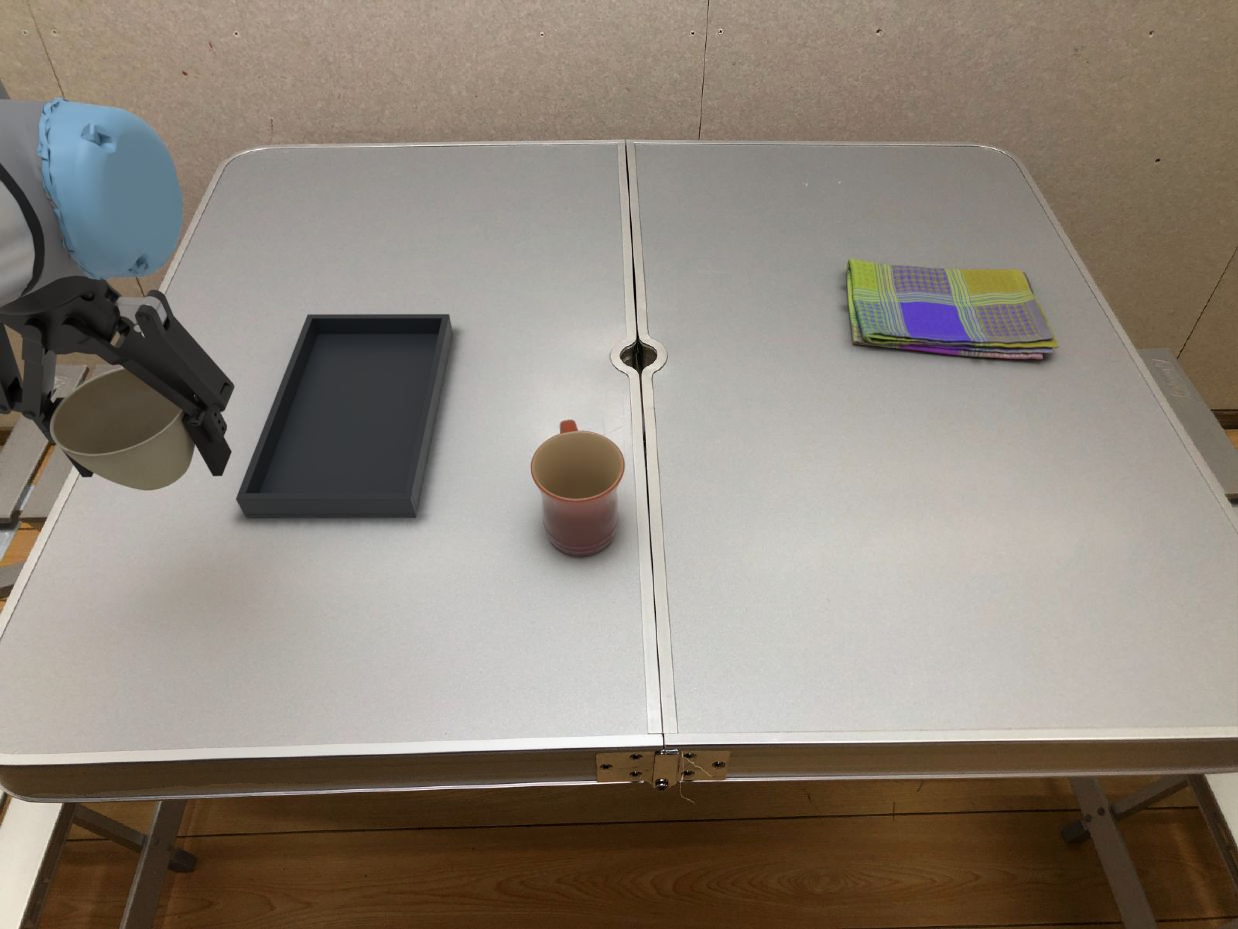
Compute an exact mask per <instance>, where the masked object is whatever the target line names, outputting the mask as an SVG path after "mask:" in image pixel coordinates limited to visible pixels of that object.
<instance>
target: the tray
mask: <svg viewBox="0 0 1238 929" xmlns="http://www.w3.org/2000/svg"><path fill="white" fill-rule="evenodd" d="M453 332H454V331H453V326H452V320H451V316H450V313H395V314H394V313H381V314H380V313H366V314H365V313H360V314H359V313H354V314H353V313H350V314H349V313H345V314H344V313H343V314H342V313H341V314H340V313H338V314H334V313H333V314H332V313H329V314H327V313H325V314H324V313H323V314H322V313H318V314H316V313H313V314H309V313H308V314H307V315H306V317H305V320H304V323H303V325H302V328H301V331H300V332H299V335H298V338H297V340H296V343H295V346H294V348H293V351H292V353H291V356H290V358H289V361H288V364H287V366H286V369H285V370H284V371H285V372H284V374H283V377H282V379H281V381H280V383H279V387H278V389H277V392H276V394H275V397H274V400H273V402H272V404H271V407H270V409H269V413H268V415H267V417H266V420H265V423H264V425H263V428H262V430H261V433H260V436H259V438H258V440H257V443H256V445H255V448H254V451H253V453H252V455H251V458H250V461H249V464H248V466H247V469H246V471H245V473H244V475H243V479H242V482H241V484H240V487H239V490H238V491H237V495H236V497H235V500H236V503H237V505H238V506H239V508H240V510H241V512H242V514H243V516H244V517H245V519H265V518H266V519H282V518H283V519H288V518H289V519H290V518H291V519H296V518H297V519H298V518H299V519H301V518H302V519H306V518H308V519H309V518H311V519H312V518H313V519H314V518H315V519H318V518H323V519H327V518H333V519H334V518H335V519H337V518H341V519H343V518H344V519H345V518H350V519H351V518H352V519H353V518H355V519H356V518H369V519H370V518H371V519H372V518H417V514H418V508H419V503H420V500H421V494H422V489H423V483H424V480H425V474H426V470H427V469H426V468H427V464H428V459H429V454H430V450H431V449H430V448H431V444H432V441H433V440H432V439H433V434H434V429H435V425H436V419H437V415H438V411H439V410H438V409H439V404H440V400H441V394H442V389H443V385H444V380H445V375H446V370H447V364H448V359H449V355H450V349H451V345H452V340H453V335H454V333H453Z"/></svg>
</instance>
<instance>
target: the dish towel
mask: <svg viewBox="0 0 1238 929" xmlns="http://www.w3.org/2000/svg"><path fill="white" fill-rule="evenodd" d="M846 275H847V276H846V280H847V281H846V288H847V289H846V290H847V302H848V312H849V320H850V325H851V326H850V327H851V338H852V344H854V345H861V346H872V347H873V346H874V347H883V348H892V349H901V350H911V351H919V352H925V353H934V354H942V355H943V354H944V355H953V356H961V357H976V358H978V357H979V358H993V359H995V358H996V359H1006V360H1029V359H1034V360H1043V358H1044V356H1043V354H1051V355H1053V354H1054V349H1059V347H1060V345H1059V343H1058V341H1057V339H1056V336H1055V334H1054V332H1053V330H1052V329H1051V326H1050V324H1049V321H1048V320H1047V316H1046V314H1045V312H1044V310H1043V308H1042V305H1041V303H1040V302H1039V300H1038V298H1037V296H1036V294H1035V291H1034V288H1033V286H1032V282H1031V280H1030V277H1029V276H1028V275H1027V272H1026V271H1025V272H1024V271H1021V269H1019V268H1018V269H1017V268H999V269H996V268H995V269H992V268H991V269H990V268H985V269H981V268H978V269H977V268H976V269H964V268H963V269H962V268H940V267H935V268H933V267H926V266H914V265H913V266H912V265H903V264H900V265H898V264H888V263H879V262H872V261H866V260H862V259H856V258H849V259H848V261H847V263H846Z"/></svg>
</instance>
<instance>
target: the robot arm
mask: <svg viewBox="0 0 1238 929" xmlns="http://www.w3.org/2000/svg"><path fill="white" fill-rule="evenodd" d="M175 164H176V163H175V162H174V159H173V156H172V154H171V153H170V151H169V149H168V147H167V145H166V144H165V142H164V141H163V139H162V137H161V136H160V135H159V134H158V133H157V132H156V131H155V129H154V128H153V127H152V126H151V125H150V124H149V123H148V122H146V121H145V120H144V119H142V118H141V117H140V116H138V115H136V114H134V113H132V112H130V111H128V110H126V109H124V108H120V107H115V106H107V105H99V104H92V103H85V102H79V101H70V100H69V99H67V98H65V97H54V98H52V99H51V100H29V99H11V97H10V95H9V93H8V91H7V89H6V87H5V86H4V84H3V82H2V80H1V79H0V414H1V415H10V414H11V413H12V412H15V413H20V414H21V415H22V416H23V417H24V418H26V419H27V420H30V421H33V422H34V424H35V425H36V427H37V428H38V429H39V431H41V433H42V434H43V436H44V437H45V439H46V440H47V441H48V442H49V443H52V444H53V445H57V444H56V443H55V441H54V440H53V438H52V436H51V433H50V422H51V418H52V415H53V413H54V411H55V410H56V408H57V406H58V405H59V404H60V402H61V401H62V400H63V399H64V398H65V397H66V396H65V397H64V396H63V397H61V396H60V397H58V396H57V397H56V398H55V400H54V401H52V398H53V397H54V396H55V393H56V392H57V390H58V388H55V378H56V368H57V358H58V356H59V355H69V354H75V353H78V354H79V353H80V354H85V355H96V356H98V357H99V358H100V359H102V360H103V361H105V362H106V363H108V364H109V365H111V366H118V365H119V366H121V367H124V368H125V369H126V370H128V371H129V372H131V373H132V374H133V375H135V376H136V377H138V378H139V379H140V380H142V381H143V382H144V383H146V384H147V385H149V386H150V387H151V388H153V389H154V390H156V391H157V392H158V393H160V394H161V395H162V396H164V397H165V398H167V399H168V400H169V401H171V402H172V403H174V404H175V405H176V406H178V407H179V408H180V409H182V410H183V411H185V412H186V413H185V415H184V418H183V420H182V422H183V424H184V426H185V428H186V429H187V431H188V433H189V435H190V436H191V438H192V440H193V442H194V443H195V448H196V449H197V451H198V453H199V454H200V456H201V458H202V459H203V461H204V463H205V465H206V466H207V468H208V470H209V471H210V474H211V476H212V477H223V475H224V472H225V471H226V468H227V465H228V462H229V460H230V458H231V454H232V453H233V452H232V449H231V447H230V446H229V443H228V441H227V440H226V438H225V435H226V433H227V430H228V424H227V422H226V420H225V419H224V418H225V417H224V416H223V415H222V413H223V412H225V410H226V409H227V406H228V405H229V402H230V399H231V397H232V394H233V392H234V390H235V384H234V383H233V381H232V380H231V379H230V378H229V377H228V376H227V375H226V373H225V372H224V371H223V370H222V369H221V367H219V365H218V364H217V363H216V362H215V360H213V359H212V358H211V356H210V355H209V354H208V352H206V350H204V348H203V347H202V346H201V345H200V344H199V343H198V341H197V340H196V339H195V338H194V337H193V336H192V335H191V333H190V332H189V331H188V330H187V329H186V327H184V326H183V325H182V323H181V322H180V321H179V320H178V319H177V317H176V316H175V315H174V313H173V310H172V308H171V305H170V303H169V302H168V299H167V297H166V295H165V294H164V293H163V292H162V291H160V290H158V289H150V290H148V291H147V293H146V294H145V296H144V297H139V296H138V297H137V296H123V295H122V294H121V293H120V292H119V291H118V290H117V289H115V288H114V287H113V286H112V285H111V284H110V283H109V282H108V281H107V280H109V279H110V278H112V279H113V278H140V277H145V276H148V275H151V274H154V273H155V272H156V271H159V270H160V269H161V268H162V267H164V265H166V263H168V261H169V260H170V258H171V257H172V255H173V253H174V252H175V250H176V248H177V246H178V243H179V241H180V236H181V234H182V228H183V219H184V199H183V190H182V188H181V186H180V182H179V178H178V176H177V175H178V174H177V168H176V165H175ZM6 327H8V328H10V330H13V331H14V332H15V333H17V334H19V335H20V337H21V339H22V342H21V343H22V344H21V360H22V361H24V362H23V376H22V375H21V371H20V369H19V365H18V362H17V359H16V356H15V354H14V351H13V347H12V344H11V340H10V338H9V334H8V332H7V330H6ZM117 333H118V334H119V337H118V339H117V341H116V342H115V344H114V345H113V344H112V342H113V340H114V338H115V337H116V334H117ZM61 451H62V452H63V454H64V455H65V457H67V459H68V460H69V461H70V463H71V464H72V466H73V467H74V468H75V470H76V471H77V472H78V473H79V475H80V476H81V477H82V478H92V477H93V476H94V474H95V473H93V472H92V471H90V470H88V469H87V468H85V467H84V466H82V465H81V464H79V463H78V462H76V461H75V460H74V459H72V458H71V457H70V456H69V455H68V454H66V453H65V452H64V451H63V450H62V449H61Z"/></svg>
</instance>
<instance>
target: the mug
mask: <svg viewBox="0 0 1238 929" xmlns="http://www.w3.org/2000/svg"><path fill="white" fill-rule="evenodd" d="M625 461H626V460H625V457H624V454H623V452H622V451H621V449H620V448H619V446H618V445H617V444H616V443H615V442H614V441H612V440H611V439H609V438H608V437H606V436H604V435H602V434H599V433H596V432H594V431H590V430H579V429H578V426H577V423H576V421H575V420H574V419H565V420H562V421H560V423H559V434H555V435H553V436H551V437H550V438H548V439H546V440H545V441H544V442H542V443H541V444H540V445H539V446H538V448H537V449H536V450H535V452H534V454H533V456H532V458H531V461H530V475H531V478H532V480H533V482H534V484H535V485H536V487H537V488H538V490H539V492H540V494H541V506H542V507H541V508H542V522H543V526H544V530H545V532H546V533H545V534H546V535H547V537H548V539H549V541H550V543H552V545H553V546H554V547H555V548H556V549H558V550H559V551H561V552H562V553H564V554H567V555H571V556H578V557H579V556H589V555H593V554H596V553H599V552H600V551H602V550H603V549H605V548H606V547H607V546H608V545H609V544H610V543H611V541H612V540H613V538H614V536H615V534H616V529H617V526H618V522H619V511H618V510H619V506H618V487H619V485H620V483H621V481H622V480H623V476H624V475H625V470H626V462H625Z"/></svg>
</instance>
